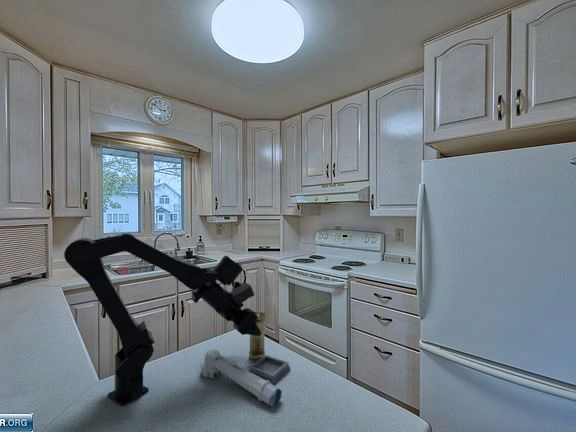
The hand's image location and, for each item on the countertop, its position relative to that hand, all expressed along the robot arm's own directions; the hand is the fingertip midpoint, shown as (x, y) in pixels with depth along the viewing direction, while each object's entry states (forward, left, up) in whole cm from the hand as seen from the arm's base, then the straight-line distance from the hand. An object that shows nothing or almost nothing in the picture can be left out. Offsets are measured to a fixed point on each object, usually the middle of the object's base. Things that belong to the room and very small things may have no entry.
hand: (253, 329), depth 84 cm
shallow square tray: (+9, -4, -9) cm, 13 cm away
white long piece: (+5, -13, -9) cm, 17 cm away
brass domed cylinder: (+1, +1, -9) cm, 9 cm away
